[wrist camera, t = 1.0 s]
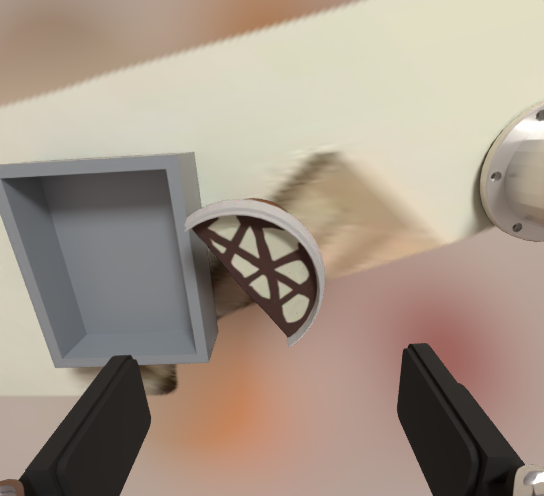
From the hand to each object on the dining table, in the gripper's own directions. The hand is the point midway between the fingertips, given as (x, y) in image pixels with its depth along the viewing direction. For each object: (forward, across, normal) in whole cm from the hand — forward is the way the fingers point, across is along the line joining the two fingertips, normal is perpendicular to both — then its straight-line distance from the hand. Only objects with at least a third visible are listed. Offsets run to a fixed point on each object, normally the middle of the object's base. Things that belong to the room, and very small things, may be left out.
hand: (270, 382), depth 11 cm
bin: (+20, +14, +2) cm, 25 cm away
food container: (+20, 0, 0) cm, 21 cm away
